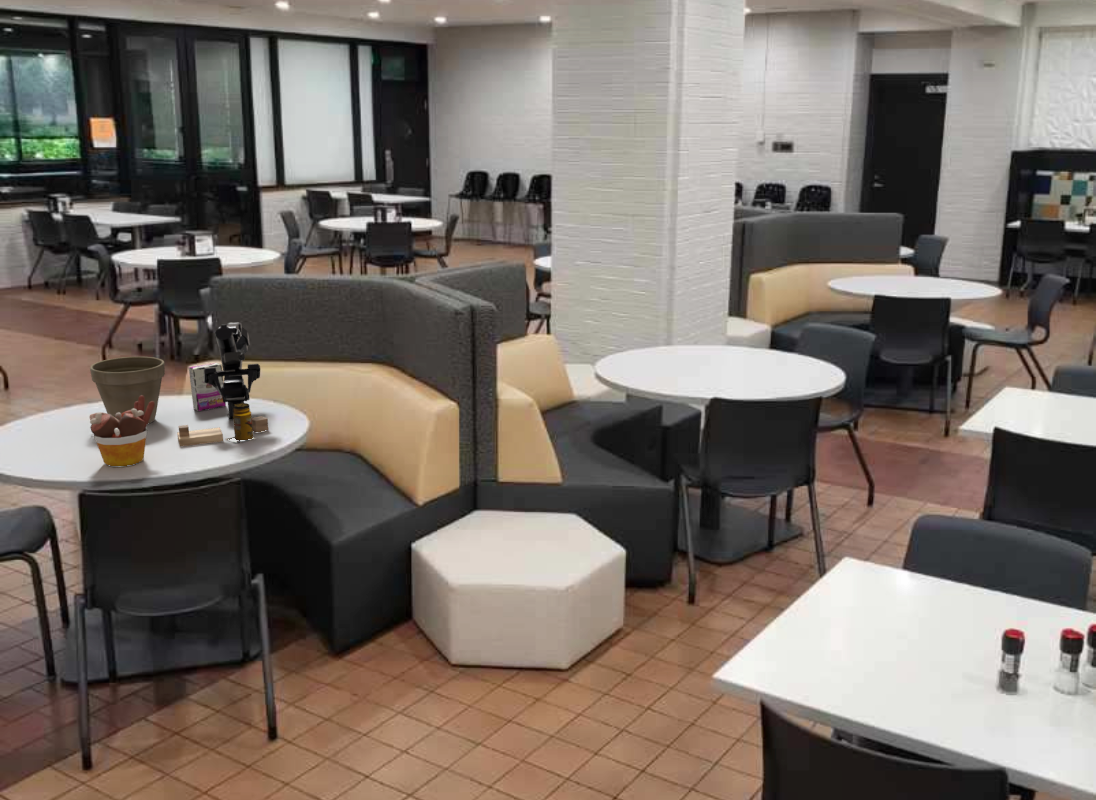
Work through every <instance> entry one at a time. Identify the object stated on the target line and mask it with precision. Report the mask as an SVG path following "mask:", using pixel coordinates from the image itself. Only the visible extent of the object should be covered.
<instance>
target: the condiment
mask: <svg viewBox="0 0 1096 800" xmlns="http://www.w3.org/2000/svg"><path fill="white" fill-rule="evenodd" d="M233 408H234V410H233V411H234V413H233V419H232V421H233V428H234V429H233V430H234V436H232V437H228V438H227V437H226V438H225V440H226V441H228V439H229V440H230V439H232V438H235V439H236V440H239V441H240V440H248V439H252V438H253V437H254V432H253V427H252V418H253V417H252V412H251V409H250V404H249V403H245V402H244V403H239V404H235V405H234V406H233Z"/></svg>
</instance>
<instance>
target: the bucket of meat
mask: <svg viewBox="0 0 1096 800" xmlns="http://www.w3.org/2000/svg"><path fill="white" fill-rule="evenodd" d="M154 407H155V403H154V402H153V401H151V402H149V404H148V406H147V409H146V411H145V414H144V410H145V397H144V396H142V395H141V396H140V397H139V398H138V401H136V402H135V403H134V409H132V410H128V411H125V412H123V413H120V412H119V413H116V414H115V417H116V418H118V419H119V420H120V421H119V420H117V419H116V418H115V417H113V416H112V415H111V414H107V412H104V411H103V412H101V411H98V412H94V413H91V414H89V420H90V421H89V424H91V425H90V427H89V428H90V430H91V431H90V432H91V433H92V434H93V439H94V440H95V442H96V443H95V444H96V445H97V448H98V451H99V453H100V455H101V458H102V460H103V463H104V464H105V465H106V464H107V466H108V465H110V466H109V467H111V466H126V467H128V466H127V465H132V466H134V465H133V464H135V465H137V464H136V463H138V464H139V462H140V463H142V461H143V460H144V459H145V450H146V441H147V433H148V429H147V426H148V425H149V424H148V422H149V420H150V417H151V414H152V412H153V409H154Z"/></svg>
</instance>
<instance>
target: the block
mask: <svg viewBox="0 0 1096 800" xmlns="http://www.w3.org/2000/svg"><path fill="white" fill-rule="evenodd" d="M268 419H269V418H268V417H265V416H262V415H261V416H256V417H252V427H253V431H254V432H253V433H255V432H261V431H265V430H269V421H268ZM265 432H266V431H265ZM261 433H262V432H261Z"/></svg>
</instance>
